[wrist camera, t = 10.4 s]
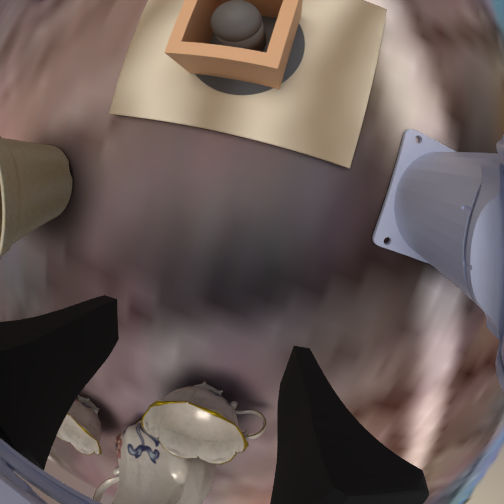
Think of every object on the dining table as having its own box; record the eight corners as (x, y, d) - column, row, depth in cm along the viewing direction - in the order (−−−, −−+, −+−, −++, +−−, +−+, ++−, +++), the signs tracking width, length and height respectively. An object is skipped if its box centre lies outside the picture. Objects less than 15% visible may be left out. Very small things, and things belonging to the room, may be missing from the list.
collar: (301, 14, 13) (304, -18, 9) (279, 89, 15) (277, 68, 11) (214, 1, 13) (198, -29, 9) (189, 72, 15) (164, 52, 11)
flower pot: (94, 122, 18) (6, 116, 9) (90, 243, 21) (13, 285, 12) (22, 130, 18) (-51, 135, 10) (21, 229, 21) (-45, 257, 13)
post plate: (382, 15, 13) (408, -22, 8) (346, 167, 17) (371, 171, 12) (166, -21, 13) (136, -56, 8) (116, 115, 17) (67, 107, 12)
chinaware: (227, 326, 23) (132, 500, 7) (305, 448, 25) (292, 584, 9) (57, 382, 30) (-18, 448, 14) (127, 465, 32) (79, 539, 16)
